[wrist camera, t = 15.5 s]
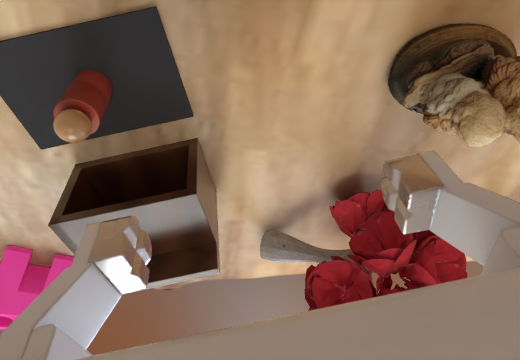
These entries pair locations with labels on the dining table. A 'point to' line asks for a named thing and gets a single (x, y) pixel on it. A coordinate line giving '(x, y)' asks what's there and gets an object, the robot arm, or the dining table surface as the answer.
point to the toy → (82, 106)
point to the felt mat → (99, 59)
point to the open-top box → (149, 207)
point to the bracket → (24, 281)
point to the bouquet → (367, 255)
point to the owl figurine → (461, 82)
